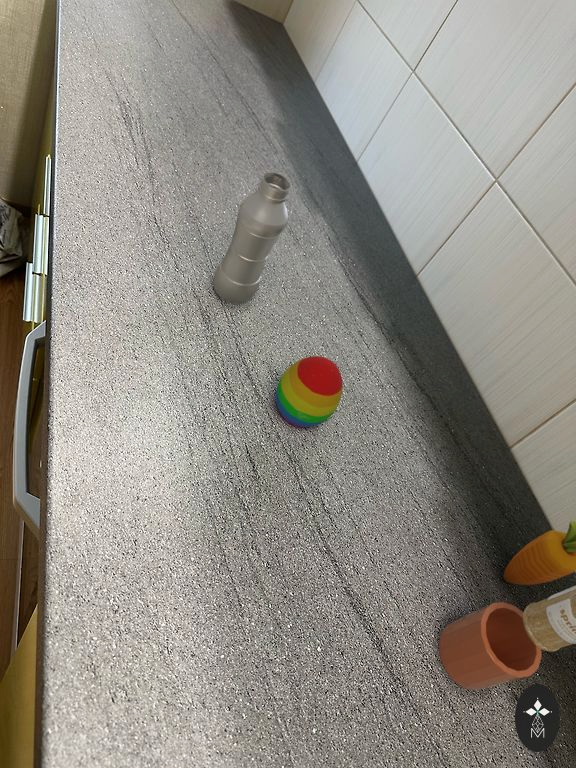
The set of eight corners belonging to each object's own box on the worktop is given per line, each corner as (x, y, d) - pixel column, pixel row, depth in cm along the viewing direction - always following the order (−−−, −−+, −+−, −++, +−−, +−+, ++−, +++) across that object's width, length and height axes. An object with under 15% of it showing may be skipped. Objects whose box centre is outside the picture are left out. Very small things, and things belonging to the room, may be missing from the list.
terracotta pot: (480, 618, 68) (524, 599, 62) (502, 685, 64) (552, 672, 58) (430, 624, 66) (471, 604, 60) (450, 694, 62) (496, 681, 56)
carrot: (481, 564, 73) (565, 518, 62) (508, 555, 75) (593, 509, 64) (501, 603, 71) (591, 563, 59) (528, 593, 73) (620, 552, 62)
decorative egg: (301, 446, 73) (333, 404, 66) (256, 403, 75) (282, 357, 67) (336, 414, 79) (369, 372, 71) (294, 374, 80) (322, 329, 73)
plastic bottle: (205, 275, 85) (244, 160, 70) (247, 277, 88) (293, 167, 73) (214, 308, 82) (258, 195, 67) (258, 309, 85) (308, 201, 70)
